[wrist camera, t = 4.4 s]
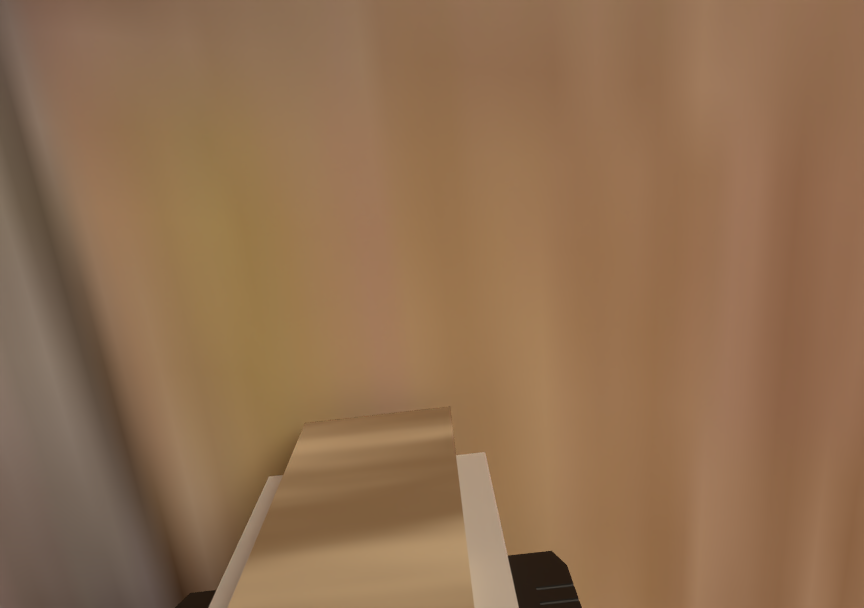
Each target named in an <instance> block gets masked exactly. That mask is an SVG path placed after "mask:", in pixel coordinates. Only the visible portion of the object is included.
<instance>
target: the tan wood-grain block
mask: <svg viewBox="0 0 864 608" xmlns="http://www.w3.org/2000/svg"><path fill="white" fill-rule="evenodd" d="M228 608H474V600H473V592H472V584H471V575H470V567H469V559H468V550H467V542H466V534H465V525H464V517H463V509H462V501H461V492H460V484H459V476H458V467H457V459H456V451H455V442H454V434H453V426H452V418H451V409H450V407H442V408H433V409H424V410H415V411H407V412H398V413H389V414H380V415H372V416H363V417H354V418H345V419H337V420H328V421H319V422H310V423H305V424H304V427H303V429H302V431H301V434H300V436H299V439H298V441H297V443H296V446H295V448H294V450H293V453H292V455H291V458H290V460H289V462H288V465H287V467H286V470H285V472H284V474H283V477H282V479H281V481H280V484H279V486H278V489H277V491H276V493H275V496H274V498H273V501H272V503H271V505H270V508H269V510H268V512H267V515H266V517H265V520H264V522H263V524H262V527H261V529H260V531H259V534H258V536H257V539H256V541H255V543H254V546H253V548H252V551H251V553H250V555H249V558H248V560H247V562H246V565H245V567H244V570H243V572H242V574H241V577H240V579H239V582H238V584H237V586H236V589H235V591H234V593H233V596H232V598H231V601H230V603H229V605H228Z"/></svg>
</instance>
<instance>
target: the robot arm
mask: <svg viewBox="0 0 864 608" xmlns="http://www.w3.org/2000/svg"><path fill="white" fill-rule="evenodd" d="M456 459H457V467H458V476H459V484H460V492H461V501H462V509H463V517H464V525H465V534H466V542H467V550H468V559H469V567H470V575H471V584H472V592H473V600H474V608H582V607H581V604H580V601H579V599H578V596H577V593H576V590H575V587H574V586H573V581H572V579H571V576H570V573H569V570H568V567H567V565H566V564H565V563H564V562H563V561H562V560H561V559H560V558H559V557H557V556H556V555H555V554H554V553H553V552H552V551H546V552H537V553H528V554H519V555H510V556H508V555H507V551H506V546H505V541H504V537H503V532H502V528H501V523H500V518H499V514H498V509H497V504H496V500H495V495H494V491H493V486H492V481H491V477H490V472H489V467H488V463H487V458H486V454H485V452H481V453H472V454H463V455H456ZM282 477H283V475H278V476H269V477H268V480H267V482H266V484H265V486H264V488H263V490H262V493H261V495H260V497H259V499H258V501H257V503H256V506H255V508H254V510H253V512H252V514H251V516H250V519H249V521H248V523H247V525H246V527H245V529H244V532H243V534H242V536H241V538H240V540H239V542H238V545H237V547H236V549H235V551H234V553H233V555H232V558H231V560H230V562H229V564H228V566H227V568H226V571H225V573H224V575H223V577H222V579H221V581H220V584H219V586H218V588H217V590H213V591H204V592H195V593H190V594H189V595H188V596H187V597H186V598H185V599H184V600H183V601H182V602H181V603H179V604H178V605H177V606H176V607H175V608H228V605H229V603H230V601H231V598H232V596H233V593H234V591H235V589H236V586H237V584H238V582H239V579H240V577H241V574H242V572H243V570H244V567H245V565H246V562H247V560H248V558H249V555H250V553H251V551H252V548H253V546H254V543H255V541H256V539H257V536H258V534H259V531H260V529H261V527H262V524H263V522H264V520H265V517H266V515H267V512H268V510H269V508H270V505H271V503H272V501H273V498H274V496H275V493H276V491H277V489H278V486H279V484H280V481H281V479H282Z"/></svg>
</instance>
